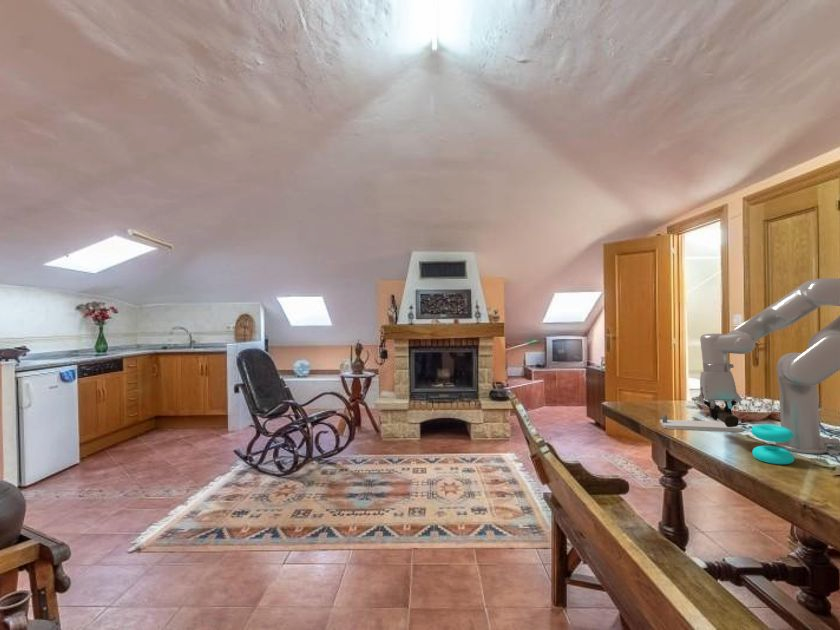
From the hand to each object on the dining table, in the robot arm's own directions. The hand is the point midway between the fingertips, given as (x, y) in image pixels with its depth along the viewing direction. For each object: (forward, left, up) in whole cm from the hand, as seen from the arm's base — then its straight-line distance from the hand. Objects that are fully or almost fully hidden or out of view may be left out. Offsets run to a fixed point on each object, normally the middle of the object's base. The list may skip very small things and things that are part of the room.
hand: (721, 418), depth 147 cm
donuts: (-8, +18, -8) cm, 21 cm away
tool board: (+3, -17, -8) cm, 19 cm away
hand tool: (+1, 0, -1) cm, 1 cm away
